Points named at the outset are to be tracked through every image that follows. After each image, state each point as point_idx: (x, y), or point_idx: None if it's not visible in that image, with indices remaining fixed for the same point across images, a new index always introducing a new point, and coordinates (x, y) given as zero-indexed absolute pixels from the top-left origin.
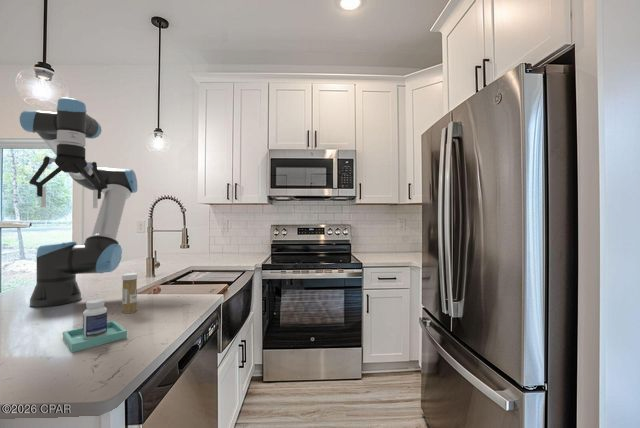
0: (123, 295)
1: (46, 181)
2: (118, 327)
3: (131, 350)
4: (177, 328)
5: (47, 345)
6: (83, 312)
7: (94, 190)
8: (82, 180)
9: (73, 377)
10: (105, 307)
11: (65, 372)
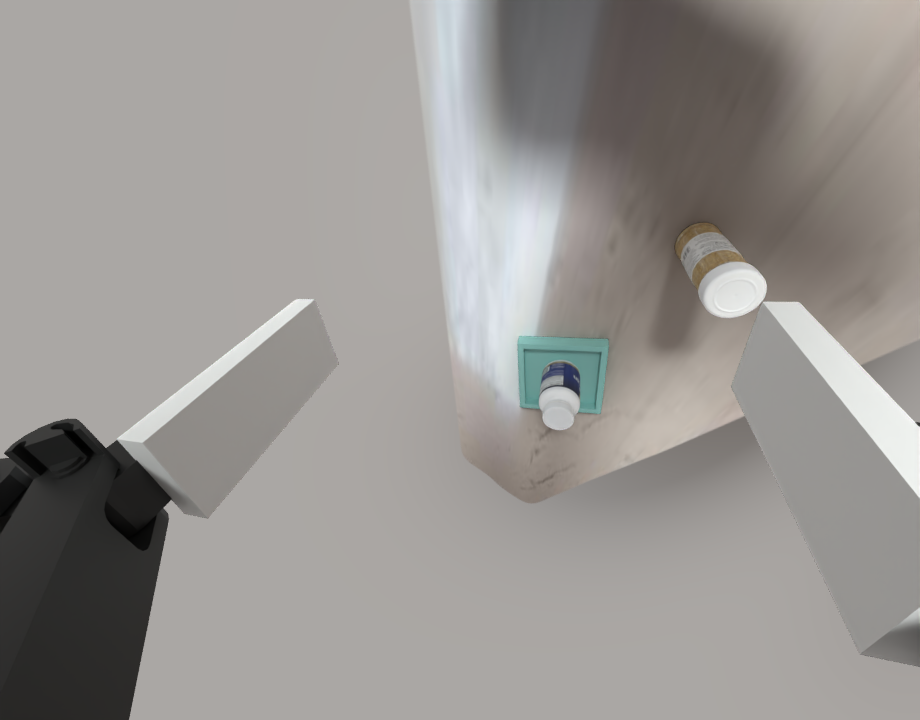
0: (686, 270)
1: (142, 593)
2: (597, 389)
3: (584, 446)
4: (686, 428)
5: (497, 347)
6: (539, 401)
7: (875, 618)
8: None
9: (512, 457)
10: (576, 409)
11: (507, 443)
